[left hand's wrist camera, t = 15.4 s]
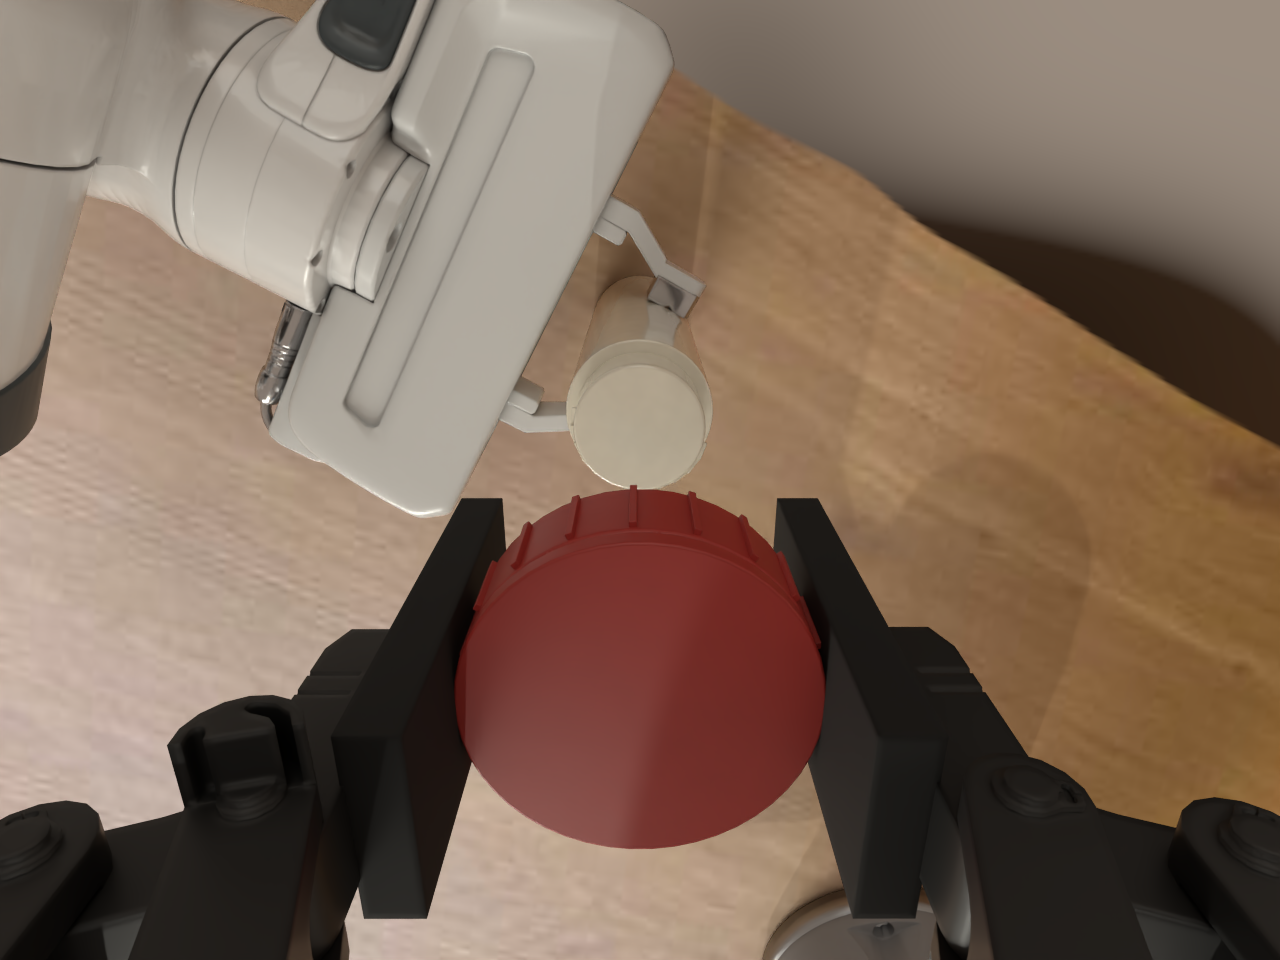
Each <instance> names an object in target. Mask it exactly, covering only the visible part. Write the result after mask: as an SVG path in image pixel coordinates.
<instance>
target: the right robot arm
mask: <svg viewBox="0 0 1280 960" xmlns="http://www.w3.org/2000/svg"><path fill="white" fill-rule="evenodd" d="M673 69H674V59H673V55H672V52H671V48H670V44H669V42H668V39H667V36H666V34H665V32H664V31H663V29H662V28H661V27H660V26H659V25H658V24H656V23H655V22H653V21H652V20H651V19H649V18H647V17H646V16H644V15H643V14H641V13H640V12H638V11H636V10H635V9H633V8H631V7H629V6H627V5H626V4H624V3H622V2H620V1H618V0H316V1H315V2H314V3H313V4H312V6H311V7H310V8H309V9H308V11H307V12H306V13H305V14H304V16H303V17H302V18H301V19H300V20H299V21H298V23H297V22H295V21H294V20H292V19H290V18H288V17H286V16H284V15H282V14H280V13H277V12H274V11H271V10H268V9H264V8H260V7H256V6H252V5H248V4H244V3H241V2H239V1H236V0H0V456H1V455H3V454H5V453H6V452H8V451H10V450H11V449H12V448H14V447H15V446H16V445H18V444H19V443H20V442H21V441H22V440H23V439H24V438H25V437H26V436H27V435H28V433H29V432H30V431H31V429H32V428H33V426H34V424H35V422H36V419H37V416H38V410H39V404H40V398H41V392H42V386H43V380H44V374H45V368H46V362H47V357H48V351H49V346H50V339H51V331H52V326H51V316H52V313H53V309H54V306H55V302H56V299H57V295H58V292H59V288H60V285H61V281H62V278H63V274H64V271H65V267H66V264H67V260H68V257H69V253H70V250H71V246H72V243H73V239H74V236H75V232H76V229H77V225H78V222H79V218H80V215H81V211H82V208H83V204H84V201H85V197H86V196H89V197H93V198H97V199H101V200H106V201H111V202H115V203H118V204H122V205H124V206H127V207H129V208H131V209H133V210H135V211H137V212H139V213H141V214H143V215H144V216H146V217H147V218H149V219H150V220H151V221H153V222H154V223H155V224H156V225H158V226H159V227H160V228H161V229H162V230H163V231H164V232H165V233H166V234H167V235H169V236H170V237H171V238H172V239H173V240H175V241H176V242H177V243H178V244H180V245H182V246H183V247H185V248H187V249H188V250H190V251H192V252H194V253H196V254H198V255H200V256H202V257H204V258H206V259H208V260H210V261H212V262H213V263H216V264H218V265H220V266H222V267H224V268H225V269H227V270H229V271H231V272H233V273H235V274H237V275H239V276H241V277H243V278H245V279H247V280H249V281H251V282H253V283H255V284H257V285H259V286H261V287H263V288H265V289H267V290H269V291H271V292H272V293H274V294H276V295H278V296H280V297H282V298H284V299H286V302H285V303H284V306H283V308H282V312H281V315H280V318H279V321H278V323H277V326H276V329H275V332H274V336H273V340H272V345H271V349H270V353H269V356H268V359H267V361H266V364H265V365H264V366H263V367H262V369H261V370H260V373H259V375H258V378H257V381H256V385H255V398H256V399H258V400H259V401H260V402H261V403H260V405H261V415H262V419H263V422H264V424H265V426H266V427H267V429H268V430H269V434H270V436H271V437H272V438H273V439H274V440H275V441H276V442H278V443H279V444H281V445H282V446H284V447H286V448H288V449H290V450H292V451H294V452H296V453H299V454H301V455H303V456H305V457H307V458H309V459H311V460H314V461H317V462H322V463H325V464H327V465H328V466H330V467H331V468H333V469H334V470H336V471H337V472H339V473H340V474H342V475H343V476H345V477H346V478H348V479H349V480H351V481H352V482H354V483H355V484H357V485H359V486H360V487H362V488H363V489H365V490H367V491H368V492H370V493H372V494H373V495H375V496H377V497H378V498H380V499H382V500H384V501H385V502H387V503H389V504H391V505H393V506H395V507H396V508H398V509H400V510H402V511H404V512H406V513H408V514H410V515H412V516H415V517H418V518H431V517H438V516H444V515H448V514H450V513H451V512H452V511H453V509H454V508H455V506H456V504H457V503H458V501H459V499H460V497H461V495H462V493H463V491H464V489H465V487H466V485H467V483H468V481H469V479H470V477H471V475H472V473H473V471H474V469H475V467H476V465H477V463H478V461H479V459H480V457H481V455H482V453H483V451H484V449H485V447H486V445H487V443H488V441H489V439H490V437H491V435H492V433H493V431H494V429H495V427H496V425H497V423H498V421H499V420H501V421H503V422H505V423H507V424H509V425H511V426H513V427H515V428H517V429H519V430H520V431H522V432H524V433H532V432H557V431H569V428H568V424H567V417H566V402H540V401H541V399H542V396H543V394H544V388H542V387H540V386H539V385H537V384H535V383H533V382H531V381H529V380H527V379H525V378H524V377H522V376H521V375H522V373H523V371H524V369H525V367H526V365H527V363H528V361H529V359H530V357H531V355H532V353H533V351H534V349H535V347H536V345H537V343H538V341H539V339H540V337H541V335H542V333H543V331H544V329H545V327H546V325H547V323H548V321H549V319H550V317H551V315H552V313H553V311H554V309H555V307H556V305H557V303H558V301H559V299H560V297H561V295H562V293H563V291H564V289H565V287H566V285H567V283H568V281H569V279H570V277H571V275H572V273H573V271H574V269H575V267H576V265H577V263H578V261H579V259H580V257H581V255H582V253H583V251H584V249H585V247H586V245H587V243H588V241H589V239H590V237H591V235H592V233H593V232H594V233H596V234H598V235H599V236H601V237H603V238H605V239H607V240H609V241H610V242H612V243H614V244H616V245H621V244H622V243H623V241H624V239H625V237H626V235H627V232H628V233H629V234H630V235H631V237H632V239H633V240H634V242H635V244H636V245H637V247H638V249H639V250H640V252H641V254H642V255H643V257H644V259H645V260H646V262H647V264H648V265H649V267H650V269H651V270H652V272H653V274H654V275H655V276H654V278H653V280H652V282H651V284H650V286H649V288H648V290H647V299H649V300H651V301H653V302H655V303H656V304H658V305H660V306H663V307H664V306H670V308H671V310H672V312H673V313H675V314H676V315H678V316H680V317H682V318H684V319H687V318H688V316H689V315H690V313H691V311H692V310H693V308H694V306H695V304H696V303H697V301H698V299H699V298H700V296H701V294H702V292H703V290H704V289H705V287H706V284H705V282H704V281H702V280H701V279H699V278H698V277H697V276H695V275H693V274H691V273H690V272H688V271H686V270H684V269H683V268H681V267H679V266H677V265H676V264H674V263H672V262H670V261H669V260H667V259H666V255H665V253H664V252H663V250H662V248H661V246H660V245H659V243H658V241H657V240H656V238H655V236H654V234H653V233H652V231H651V229H650V227H649V226H648V224H647V222H646V221H645V219H644V217H643V215H642V214H641V212H640V210H639V209H637V208H636V207H634V206H632V205H630V204H629V203H627V202H625V201H624V200H622V199H620V198H618V197H617V196H615V195H613V194H612V193H613V191H614V189H615V187H616V185H617V183H618V181H619V179H620V177H621V175H622V173H623V171H624V169H625V167H626V165H627V163H628V161H629V159H630V157H631V155H632V153H633V151H634V149H635V147H636V145H637V143H638V141H639V139H640V137H641V135H642V133H643V131H644V129H645V127H646V125H647V123H648V121H649V119H650V117H651V115H652V113H653V111H654V109H655V107H656V105H657V103H658V101H659V99H660V97H661V95H662V93H663V91H664V89H665V87H666V85H667V83H668V81H669V79H670V77H671V75H672V73H673ZM276 404H278V406H277V408H276V411H275V413H274V416H273V414H272V409H271V408H272V405H276Z"/></svg>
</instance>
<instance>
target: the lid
mask: <svg viewBox="0 0 1280 960" xmlns="http://www.w3.org/2000/svg"><path fill="white" fill-rule="evenodd" d="M473 610H475V614H474V617H473V619H472V622H471V625H470V627H469V630H468V633H467V635H466V638H465V641H464V643H463V646H462V649H461V651H460V657H459V660H458V665H457V670H456V674H455V680H454V695H455V705H456V715H457V723H458V728H459V732H460V736H461V739H462V742H463V744H464V746H465V748H466V751H467V753H468V755H469V757H470V759H471V761H472V762H473V764H474V765H475V767H476V769H477V770H478V772H479V773H480V775H481V776H482V777H483V779H484V780H485V781H486V782H487V783H488V784H489V786H490V787H491V788H492V789H493V790H494V791H495V792H496V793H497V794H498V795H499V796H500V797H501V798H502V799H503V800H504V801H505V802H506V803H508V804H509V805H510V806H511V807H513V808H514V809H515V810H517V811H518V812H520V813H521V814H522V815H524V816H525V817H527V818H528V819H530V820H532V821H534V822H536V823H537V824H539V825H541V826H543V827H545V828H547V829H549V830H552V831H554V832H556V833H559V834H561V835H563V836H566V837H569V838H573V839H576V840H579V841H582V842H586V843H591V844H596V845H601V846H606V847H615V848H625V849H655V848H665V847H674V846H679V845H684V844H689V843H694V842H698V841H701V840H704V839H707V838H710V837H714V836H717V835H719V834H721V833H724V832H726V831H728V830H731V829H733V828H735V827H737V826H739V825H741V824H743V823H744V822H746V821H748V820H750V819H751V818H753V817H755V816H756V815H758V814H759V813H760V812H762V811H763V810H764V809H766V808H767V807H769V806H770V805H771V804H773V803H774V802H775V801H776V800H777V799H778V798H779V797H780V796H781V795H782V794H783V793H784V792H785V791H786V790H787V789H788V788H789V787H790V786H791V785H792V783H793V782H794V781H795V780H796V778H797V777H798V776H799V775H800V774H801V772H802V770H803V769H804V767H805V765H806V764H807V762H808V761H809V759H810V757H811V755H812V753H813V751H814V748H815V746H816V744H817V742H818V739H819V736H820V733H821V727H822V719H823V710H824V700H825V689H826V678H825V673H824V668H823V664H822V659H821V656H820V653H819V650H818V649H820V648H821V641H820V638H819V636H818V633H817V631H816V628H815V626H814V623H813V620H812V618H811V615H810V613H809V610H808V608H807V605H806V602H805V600H804V597H803V596H800V595H799V592H798V590H797V587H796V585H795V582H794V579H793V577H792V574H791V572H790V569H789V566H788V564H787V561H786V559H785V556H784V554H783V553H782V552H781V551H780V552H778V553H777V554H776V552H775V551H774V550H773V549H772V547H771V546H770V545H769V544H768V542H767V541H766V540H765V539H764V538H763V537H761V536H760V535H759V534H758V533H757V532H756V531H755V530H754V529H753V528H752V527H750V526H749V523H748V520H747V518H746V517H745V516H744V515H742V514H741V515H740V517H739V518H738V517H737V516H735V515H733V514H731V513H729V512H728V511H726V510H724V509H722V508H720V507H718V506H716V505H714V504H711V503H709V502H706V501H703V500H701V499H698V498H696V493H694V492H691V491H689V493H688V495H683V494H679V493H675V492H669V491H660V490H652V489H637V485H630V489H628V490H620V491H612V492H605V493H601V494H597V495H593V496H589V497H585V498H582V499H580V497H579V495H577V496H574V497H572V501H571V503H569V504H566V505H564V506H562V507H560V508H558V509H556V510H554V511H553V512H551V513H549V514H547V515H545V516H543V517H542V518H541V519H539V520H538V521H537V522H535V523H534V524H533V525H532V524H531V523H530V522H527V523H526V524H524V525H523V528H522V532H521V535H520V536H519V537H518V538H517V539H516V540H515V541H513V542H512V543H511V545H510V546H509V547H508V549H507V550H506V551H505V552H504V554H503V555H502V556H501V558H500V559H499V561H498V562H495V561H492V562H491V564H490V566H489V568H488V571H487V573H486V576H485V579H484V581H483V584H482V586H481V589H480V592H479V594H478V597H477V599H476V602H475V605H474V607H473Z"/></svg>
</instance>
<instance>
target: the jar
mask: <svg viewBox="0 0 1280 960" xmlns="http://www.w3.org/2000/svg"><path fill="white" fill-rule="evenodd" d="M652 280H653V277H648V276H631V277H627V278H624V279H621V280H619V281H617V282H615V283H614V284H612V285H611V286H610V287H609V288H608V289H607V290H606V291H605V292H604V293H603V294H602V295H601V297H600V299H599V300H598V303H597V305H596V307H595V310H594V314H593V317H592V320H591V323H590V326H589V329H588V332H587V335H586V339H585V342H584V345H583V348H582V351H581V354H580V357H579V360H578V363H577V367H576V370H575V373H574V376H573V379H572V382H571V385H570V389H569V392H568V396H567V402H566V417H567V424H568V428H569V431H570V434H571V436H572V439H573V441H574V445H575V447H576V449H577V451H578V452H579V454H580V456H581V459H582V460H583V461H584V462H585V464H586V465H587V466H588V467H589V468H590V469H591V470H592V471H593V473H594V474H596V475H598V476H599V477H600V478H602V479H604V480H605V481H607V483H610V484H613V485H616V486H619V487H622V488H623V489H630V485H637V489H657V488H658V489H660V488H662V487H665V486H667V485H669V484H672V483H676V482H677V481H678V480H679V479H681V478H682V477H683V476H685V475H686V474H687V473H690V471H691V470H692V469H693V467H694V466H695V465H696V464H697V462H698V461H699V460H700V459H701V457H702V454H703V452H704V450H705V447H706V445H707V443H706V442H705V441H706V439H707V437H708V434H709V431H710V428H711V424H712V417H713V401H712V396H711V392H710V388H709V385H708V382H707V379H706V376H705V373H704V370H703V366H702V363H701V360H700V357H699V354H698V351H697V347H696V344H695V341H694V338H693V335H692V332H691V329H690V325H689V322H688V319H684V318H682V317H680V316H678V315H676V314H675V313H673V312H672V310H671V308H670V306H664V307H663V306H660V305H658V304H656V303H655V302H653V301H651V300H649V299H647V290H648V288H649V286H650V284H651V282H652Z"/></svg>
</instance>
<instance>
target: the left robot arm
mask: <svg viewBox="0 0 1280 960" xmlns="http://www.w3.org/2000/svg"><path fill="white" fill-rule="evenodd" d="M505 551H506V543H505V529H504V515H503V501H502V498H462V499H461V501H460V503H459V504H458V506H457V508H456V510H455V512H454V513H453V515H452V517H451V519H450V521H449V523H448V524H447V526H446V528H445V530H444V532H443V533H442V535H441V537H440V539H439V541H438V542H437V544H436V546H435V548H434V550H433V552H432V553H431V555H430V557H429V559H428V561H427V562H426V564H425V566H424V568H423V570H422V571H421V573H420V575H419V577H418V579H417V581H416V582H415V584H414V586H413V588H412V590H411V591H410V593H409V595H408V597H407V599H406V601H405V602H404V604H403V606H402V608H401V610H400V611H399V613H398V615H397V617H396V619H395V620H394V622H393V624H392V626H391V628H390V629H352V630H350V631H349V632H347V633H346V634H345V635H343V636H342V637H341V638H339V639H338V640H337V641H335V642H334V643H332V644H331V645H330V646H328V647H327V648H326V649H325V650H324V651H323V653H322V654H321V656H320V657H319V659H318V660H317V662H316V663H315V665H314V666H313V668H312V669H311V671H310V676H307V677H306V678H305V680H304V682H303V683H302V685H301V686H300V688H299V689H298V694H297V695H294V697H293V698H292V700H290V699H287V698H283V697H279V696H275V695H263V696H248V697H244V698H240V699H236V700H232V701H228V702H224V703H222V704H220V705H217V706H215V707H213V708H211V709H209V710H207V711H204V712H202V713H200V714H198V715H197V716H196V717H194V718H193V719H192V720H190V721H189V722H188V723H186V724H185V725H184V726H182V727H181V728H180V729H179V730H178V731H177V733H176V734H175V735H174V737H173V738H172V739H171V741H170V742H169V744H168V745H167V747H168V750H169V754H170V758H171V761H172V765H173V768H174V772H175V775H176V779H177V782H178V786H179V789H180V793H181V796H182V800H183V803H184V807H185V808H184V810H183V811H182V812H179V813H175V814H172V815H169V816H166V817H162V818H158V819H154V820H149V821H145V822H141V823H137V824H132V825H128V826H124V827H119V828H115V829H111V830H107V831H104V829H103V826H102V823H101V820H100V817H99V814H98V813H97V812H96V811H95V810H93V809H92V808H91V807H90V806H89V805H88V804H85V803H79V802H72V801H60V802H53V803H46V804H39V805H36V806H33V807H31V808H28V809H25V810H22V811H19V812H16V813H14V814H11V815H8V816H6V817H5V818H3V819H1V820H0V960H349V945H348V938H347V932H346V927H345V922H344V920H345V918H346V915H347V913H348V910H349V908H350V905H351V903H352V900H353V898H354V895H355V893H356V890H357V888H359V894H360V899H361V905H362V910H363V916H364V919H427V916H428V913H429V909H430V906H431V902H432V899H433V895H434V892H435V888H436V885H437V881H438V878H439V874H440V871H441V867H442V864H443V860H444V857H445V853H446V850H447V846H448V843H449V839H450V836H451V832H452V829H453V825H454V822H455V819H456V815H457V812H458V808H459V805H460V801H461V798H462V794H463V791H464V787H465V784H466V780H467V777H468V773H469V770H470V766H471V763H472V761H471V759H470V757H469V755H468V753H467V751H466V748H465V746H464V744H463V742H462V739H461V736H460V732H459V728H458V723H457V715H456V705H455V695H454V680H455V674H456V670H457V665H458V660H459V657H460V651H461V649H462V646H463V643H464V641H465V638H466V635H467V633H468V630H469V627H470V625H471V622H472V619H473V617H474V614H475V610H473V607H474V605H475V602H476V599H477V597H478V594H479V592H480V589H481V586H482V584H483V581H484V579H485V576H486V573H487V571H488V568H489V566H490V564H491V562H492V561H495V562H498V561H499V559H500V558H501V556H502V555H503V554H504V552H505ZM774 551H775V552H776V554H777V553H778V552H780V551H781V552H782V553H783V554H784V556H785V559H786V561H787V564H788V566H789V569H790V572H791V574H792V577H793V579H794V582H795V585H796V587H797V590H798V592H799V595H800V596H803V597H804V600H805V602H806V605H807V608H808V610H809V613H810V615H811V618H812V620H813V623H814V626H815V628H816V631H817V633H818V636H819V638H820V641H821V648H820V649H818V650H819V653H820V656H821V659H822V664H823V668H824V673H825V678H826V689H825V700H824V710H823V719H822V727H821V733H820V736H819V739H818V742H817V744H816V746H815V748H814V751H813V753H812V755H811V757H810V759H809V761H808V764H809V768H810V771H811V775H812V778H813V782H814V785H815V789H816V792H817V796H818V799H819V803H820V806H821V810H822V813H823V817H824V820H825V824H826V827H827V831H828V834H829V838H830V841H831V845H832V848H833V852H834V855H835V859H836V862H837V866H838V869H839V873H840V876H841V880H842V883H843V887H844V890H841V891H838V892H835V893H832V894H829V895H826V896H824V897H821V898H819V899H817V900H815V901H813V902H811V903H809V904H807V905H806V906H804V907H802V908H801V909H799V910H798V911H797V912H795V913H794V914H793V915H791V916H790V917H789V918H788V919H787V920H786V921H784V922H783V924H782V925H781V926H780V927H779V928H778V929H777V930H776V932H775V933H774V934H773V936H772V937H771V939H770V941H769V943H768V945H767V947H766V949H765V952H764V956H763V960H1280V816H1278V815H1277V814H1275V813H1273V812H1271V811H1268V810H1265V809H1262V808H1260V807H1257V806H1254V805H1251V804H1248V803H1245V802H1242V801H1237V800H1230V799H1223V798H1216V797H1213V798H1207V799H1200V800H1194V801H1193V802H1191V803H1190V804H1189V805H1188V806H1187V807H1186V808H1184V809H1183V810H1182V812H1181V815H1180V818H1179V821H1178V824H1177V827H1176V828H1174V827H1170V826H1165V825H1161V824H1157V823H1153V822H1148V821H1144V820H1140V819H1135V818H1131V817H1127V816H1122V815H1118V814H1115V813H1111V812H1108V811H1105V810H1102V809H1098V808H1096V806H1095V805H1094V803H1093V802H1092V800H1091V798H1090V797H1089V795H1088V794H1087V792H1086V791H1085V789H1084V788H1083V787H1082V786H1080V785H1079V784H1078V783H1077V782H1076V781H1075V780H1073V779H1072V778H1071V777H1070V776H1069V775H1067V774H1066V773H1065V772H1063V771H1061V770H1059V769H1057V768H1055V767H1053V766H1051V765H1050V764H1048V763H1046V762H1044V761H1042V760H1038V759H1035V758H1031V757H1028V755H1027V754H1026V752H1025V751H1024V749H1023V748H1022V746H1021V745H1020V743H1019V742H1018V740H1017V739H1016V737H1015V736H1014V734H1013V733H1012V731H1011V730H1010V728H1009V727H1008V725H1007V724H1006V722H1005V721H1004V719H1003V718H1002V716H1001V715H1000V713H999V712H998V710H997V709H996V707H995V706H994V704H993V703H992V701H991V700H990V698H989V697H988V695H987V694H986V692H982V686H981V685H980V684H979V682H978V681H977V679H976V678H975V676H974V675H973V673H970V669H969V667H968V666H967V664H966V663H965V661H964V660H963V658H962V657H961V655H960V654H959V652H958V651H957V649H956V648H955V646H953V645H952V644H951V643H949V642H948V641H947V640H945V639H944V638H943V637H941V636H940V635H938V634H937V633H936V632H934V631H933V630H932V629H930V628H929V627H888V625H887V623H886V621H885V620H884V618H883V616H882V614H881V612H880V611H879V609H878V607H877V605H876V603H875V601H874V600H873V598H872V596H871V594H870V592H869V591H868V589H867V587H866V585H865V583H864V581H863V580H862V578H861V576H860V574H859V572H858V571H857V569H856V567H855V565H854V563H853V562H852V560H851V558H850V556H849V554H848V552H847V551H846V549H845V547H844V545H843V543H842V542H841V540H840V538H839V536H838V534H837V533H836V531H835V529H834V527H833V525H832V523H831V522H830V520H829V518H828V516H827V514H826V513H825V511H824V509H823V507H822V505H821V504H820V502H819V500H818V498H777V508H776V522H775V536H774ZM922 885H923V888H924V889H921V886H922Z"/></svg>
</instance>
